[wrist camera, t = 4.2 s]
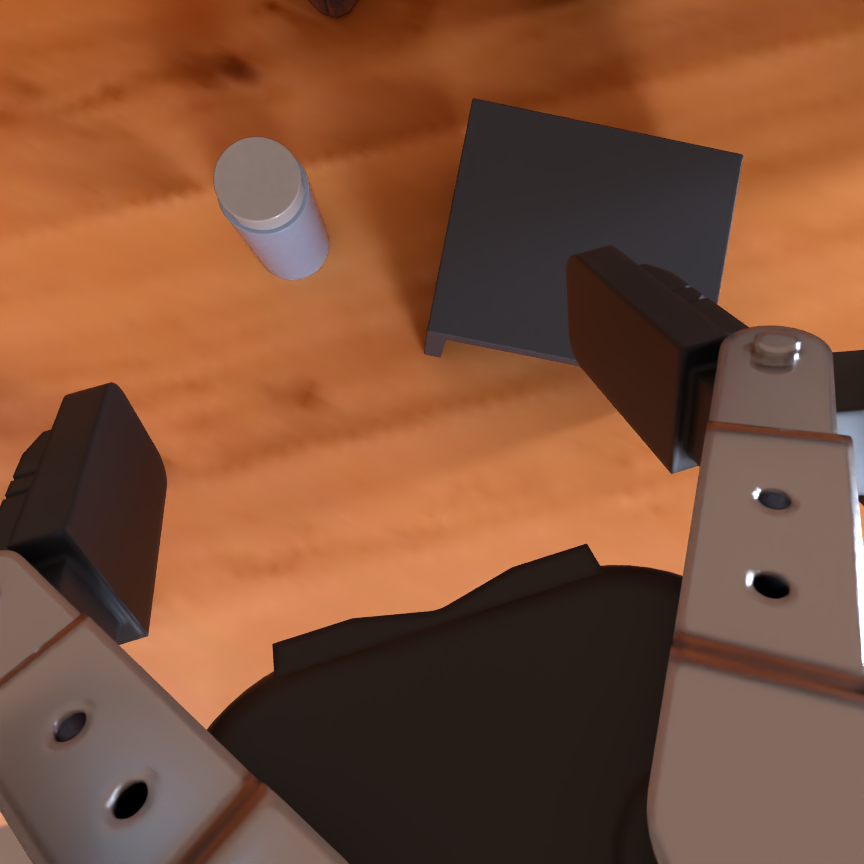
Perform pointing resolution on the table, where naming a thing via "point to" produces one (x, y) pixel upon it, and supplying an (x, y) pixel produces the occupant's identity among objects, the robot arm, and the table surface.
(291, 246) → the salt shaker
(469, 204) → the shelf
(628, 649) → the robot arm
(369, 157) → the table surface
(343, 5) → the wooden figurine
